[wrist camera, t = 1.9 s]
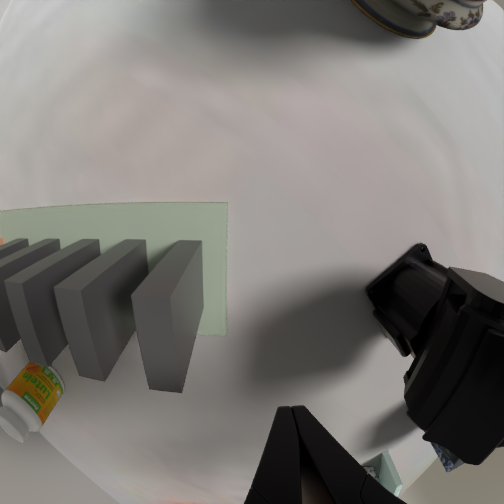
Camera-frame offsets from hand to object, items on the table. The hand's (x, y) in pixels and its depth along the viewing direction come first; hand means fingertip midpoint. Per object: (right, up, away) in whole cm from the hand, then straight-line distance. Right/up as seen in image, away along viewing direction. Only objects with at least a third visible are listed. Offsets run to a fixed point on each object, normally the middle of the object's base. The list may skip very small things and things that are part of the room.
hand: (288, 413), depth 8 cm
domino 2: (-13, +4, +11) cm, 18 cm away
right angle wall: (+15, -31, +23) cm, 41 cm away
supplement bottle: (-25, -9, +15) cm, 31 cm away
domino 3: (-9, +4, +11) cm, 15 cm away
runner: (-18, +4, +12) cm, 22 cm away
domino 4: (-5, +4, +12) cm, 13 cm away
